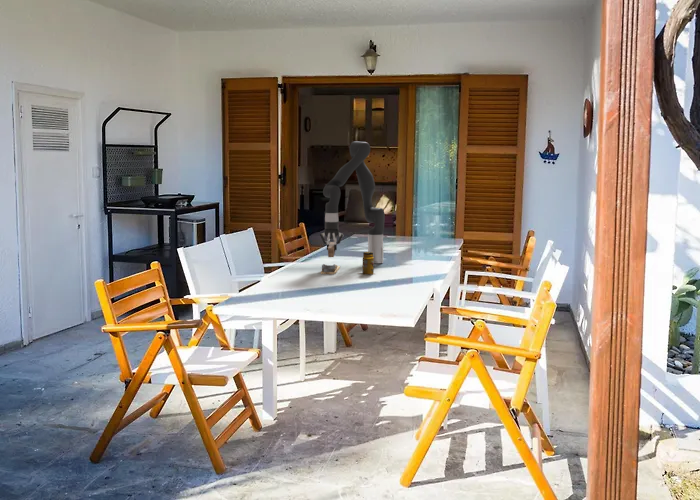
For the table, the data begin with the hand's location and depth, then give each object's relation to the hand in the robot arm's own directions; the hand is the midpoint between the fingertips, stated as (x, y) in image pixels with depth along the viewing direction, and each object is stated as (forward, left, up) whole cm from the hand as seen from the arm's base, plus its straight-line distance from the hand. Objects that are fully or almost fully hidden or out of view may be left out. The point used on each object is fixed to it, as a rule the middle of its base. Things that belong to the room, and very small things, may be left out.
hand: (331, 251), depth 395 cm
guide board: (0, +5, -11) cm, 12 cm away
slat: (0, -1, -2) cm, 2 cm away
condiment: (-21, +14, -11) cm, 28 cm away
